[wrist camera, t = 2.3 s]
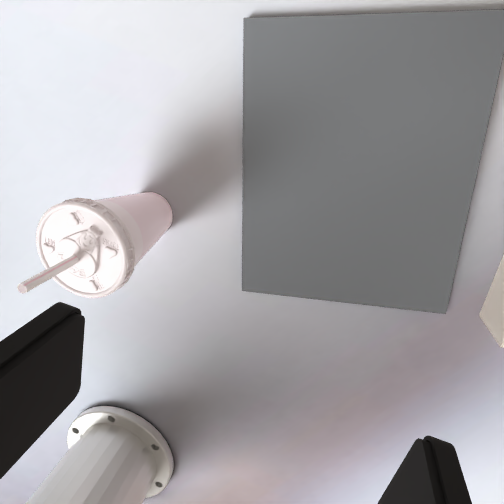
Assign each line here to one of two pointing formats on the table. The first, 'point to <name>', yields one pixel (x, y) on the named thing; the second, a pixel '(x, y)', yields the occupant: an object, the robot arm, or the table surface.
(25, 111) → the table surface
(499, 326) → the card box
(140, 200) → the smoothie
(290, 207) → the mat
